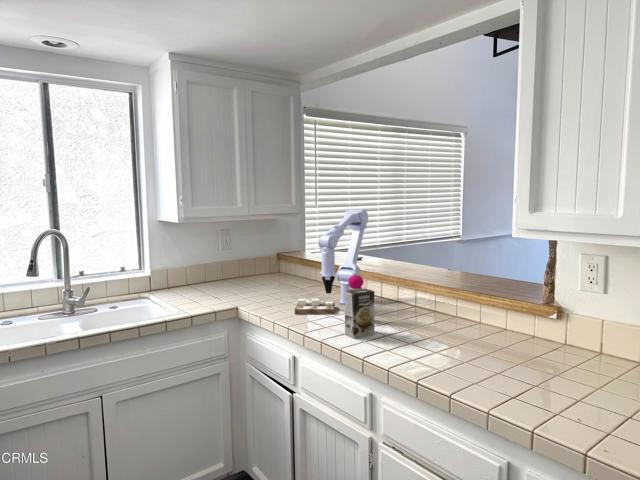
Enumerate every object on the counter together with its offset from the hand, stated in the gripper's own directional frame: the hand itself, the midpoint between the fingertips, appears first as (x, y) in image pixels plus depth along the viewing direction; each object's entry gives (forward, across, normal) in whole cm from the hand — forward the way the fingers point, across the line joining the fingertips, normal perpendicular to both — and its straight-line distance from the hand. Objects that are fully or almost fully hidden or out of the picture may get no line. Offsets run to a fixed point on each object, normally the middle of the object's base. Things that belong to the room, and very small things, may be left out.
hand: (328, 293), depth 196 cm
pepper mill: (+8, +17, +12) cm, 22 cm away
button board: (+7, +2, -6) cm, 10 cm away
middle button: (+6, 0, -6) cm, 8 cm away
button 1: (+6, 0, -12) cm, 13 cm away
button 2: (+7, 0, 0) cm, 7 cm away
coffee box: (+8, +34, +13) cm, 37 cm away
